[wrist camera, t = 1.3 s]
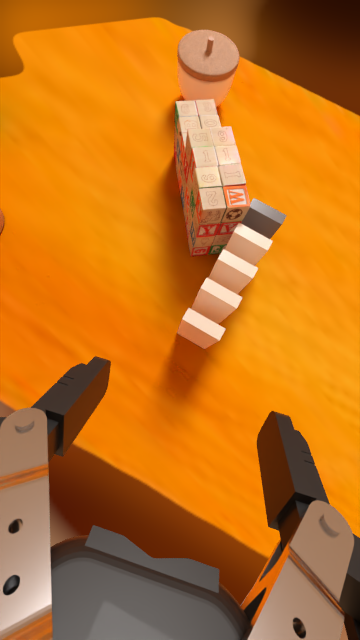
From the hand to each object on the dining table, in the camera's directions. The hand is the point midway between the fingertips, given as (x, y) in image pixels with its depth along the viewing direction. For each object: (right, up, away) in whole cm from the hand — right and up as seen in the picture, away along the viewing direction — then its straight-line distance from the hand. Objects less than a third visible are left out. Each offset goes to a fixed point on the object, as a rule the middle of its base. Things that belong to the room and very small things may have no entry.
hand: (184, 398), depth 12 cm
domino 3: (+6, +9, +28) cm, 30 cm away
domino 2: (+8, +12, +29) cm, 33 cm away
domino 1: (+11, +16, +30) cm, 36 cm away
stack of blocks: (+3, +25, +32) cm, 41 cm away
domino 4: (+4, +5, +27) cm, 28 cm away
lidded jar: (+4, +48, +37) cm, 61 cm away
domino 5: (+2, +1, +26) cm, 26 cm away
